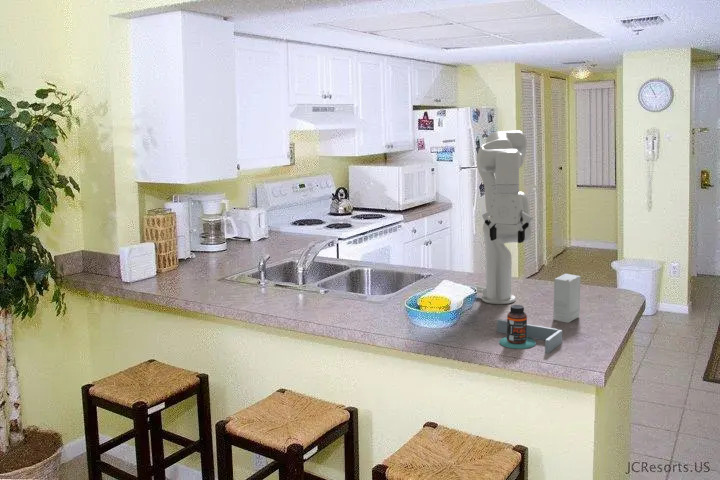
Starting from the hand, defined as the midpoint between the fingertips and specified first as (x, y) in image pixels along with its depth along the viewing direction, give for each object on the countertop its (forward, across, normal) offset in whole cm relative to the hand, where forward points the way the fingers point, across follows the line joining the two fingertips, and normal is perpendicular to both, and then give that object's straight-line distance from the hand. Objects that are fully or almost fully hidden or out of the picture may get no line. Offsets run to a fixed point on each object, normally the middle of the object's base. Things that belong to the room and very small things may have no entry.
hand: (506, 241), depth 226 cm
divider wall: (+28, +12, -14) cm, 34 cm away
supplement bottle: (+28, +11, -16) cm, 34 cm away
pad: (+28, +11, -16) cm, 34 cm away
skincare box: (+28, +15, +15) cm, 36 cm away
